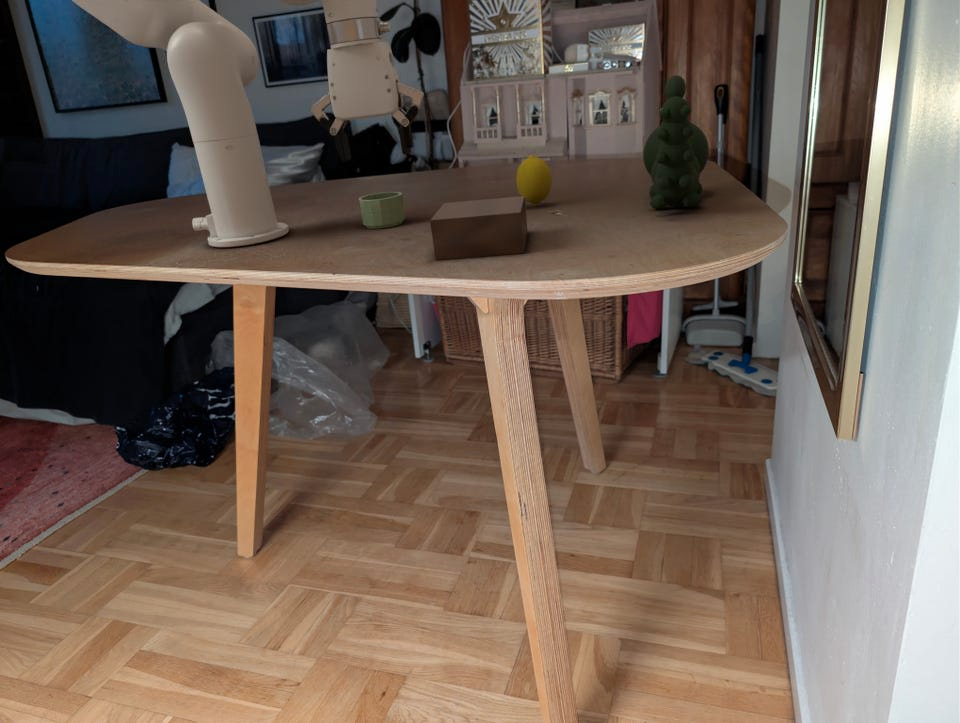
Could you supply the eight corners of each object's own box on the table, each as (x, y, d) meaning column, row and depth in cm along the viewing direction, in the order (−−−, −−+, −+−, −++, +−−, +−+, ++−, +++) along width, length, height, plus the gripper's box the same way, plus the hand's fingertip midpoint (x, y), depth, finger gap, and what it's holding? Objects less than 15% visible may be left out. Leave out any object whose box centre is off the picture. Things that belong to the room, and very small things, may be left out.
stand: (435, 260, 87) (429, 220, 85) (448, 239, 97) (443, 203, 95) (523, 253, 85) (520, 212, 83) (527, 232, 95) (524, 195, 93)
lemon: (531, 202, 116) (527, 152, 113) (559, 203, 112) (556, 151, 109) (511, 209, 112) (507, 157, 109) (540, 210, 109) (536, 157, 105)
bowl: (358, 230, 109) (353, 202, 107) (369, 221, 115) (364, 194, 114) (401, 227, 108) (396, 198, 106) (409, 218, 114) (405, 190, 113)
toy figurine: (712, 231, 92) (706, 180, 113) (716, 77, 83) (708, 54, 104) (638, 234, 95) (646, 184, 116) (635, 85, 86) (643, 61, 107)
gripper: (418, 27, 103) (435, 147, 110) (307, 44, 106) (330, 160, 112) (408, 25, 96) (427, 153, 103) (289, 43, 99) (315, 167, 106)
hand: (376, 157), depth 108 cm, fingers open, 9 cm apart
